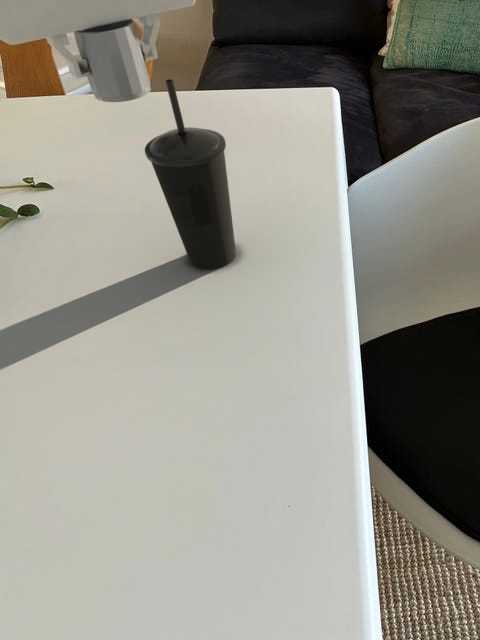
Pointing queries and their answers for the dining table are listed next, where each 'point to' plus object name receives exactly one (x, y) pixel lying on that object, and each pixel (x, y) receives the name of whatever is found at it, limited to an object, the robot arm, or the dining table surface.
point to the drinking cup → (195, 189)
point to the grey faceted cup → (114, 61)
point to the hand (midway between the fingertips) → (116, 67)
